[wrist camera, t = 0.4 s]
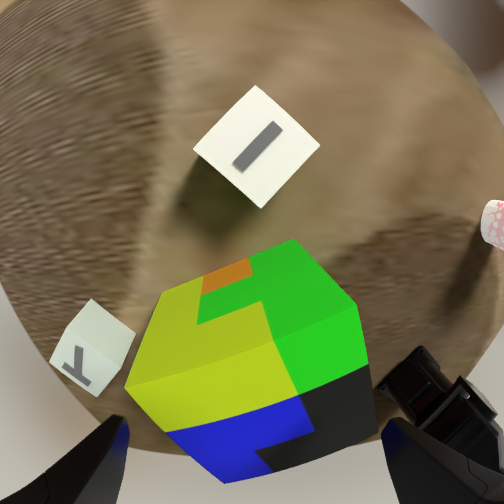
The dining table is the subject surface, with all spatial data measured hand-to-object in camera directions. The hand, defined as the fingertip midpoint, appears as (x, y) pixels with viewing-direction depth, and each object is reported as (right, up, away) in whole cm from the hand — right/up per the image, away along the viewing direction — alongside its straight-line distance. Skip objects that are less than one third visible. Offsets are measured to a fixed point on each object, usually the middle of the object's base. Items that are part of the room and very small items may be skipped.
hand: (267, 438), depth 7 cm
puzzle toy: (0, +1, +14) cm, 14 cm away
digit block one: (-1, +12, +10) cm, 16 cm away
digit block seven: (-13, -1, +13) cm, 18 cm away
